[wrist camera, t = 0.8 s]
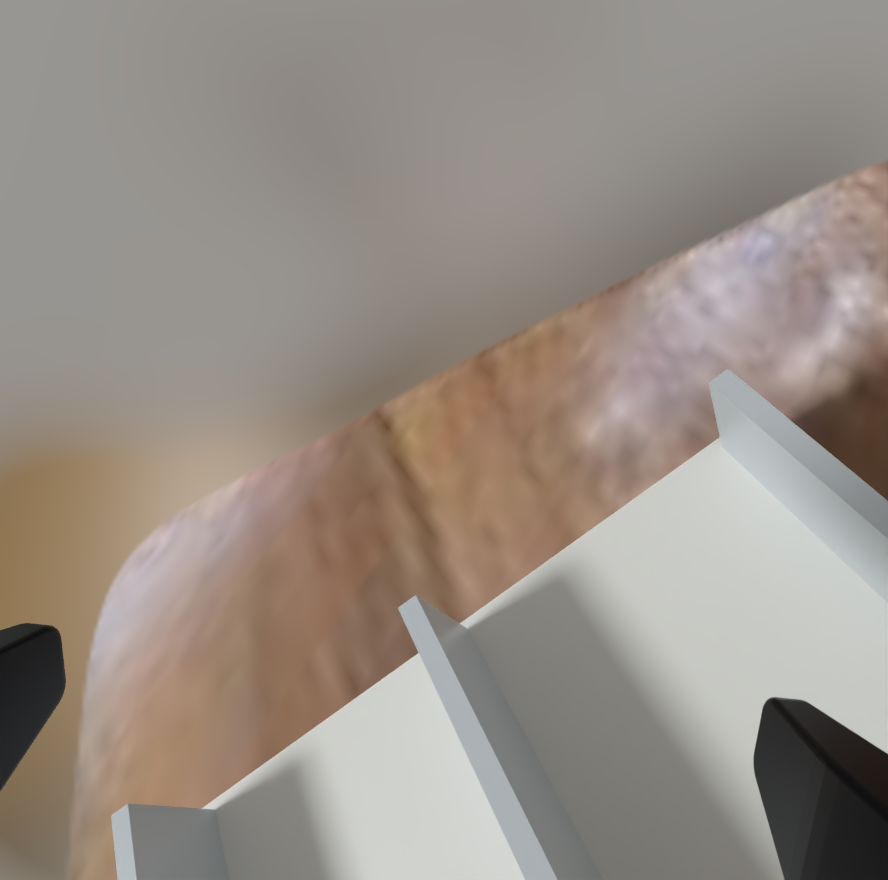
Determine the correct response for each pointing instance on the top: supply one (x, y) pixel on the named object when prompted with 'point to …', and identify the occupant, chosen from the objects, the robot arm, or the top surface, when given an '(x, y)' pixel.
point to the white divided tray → (586, 695)
